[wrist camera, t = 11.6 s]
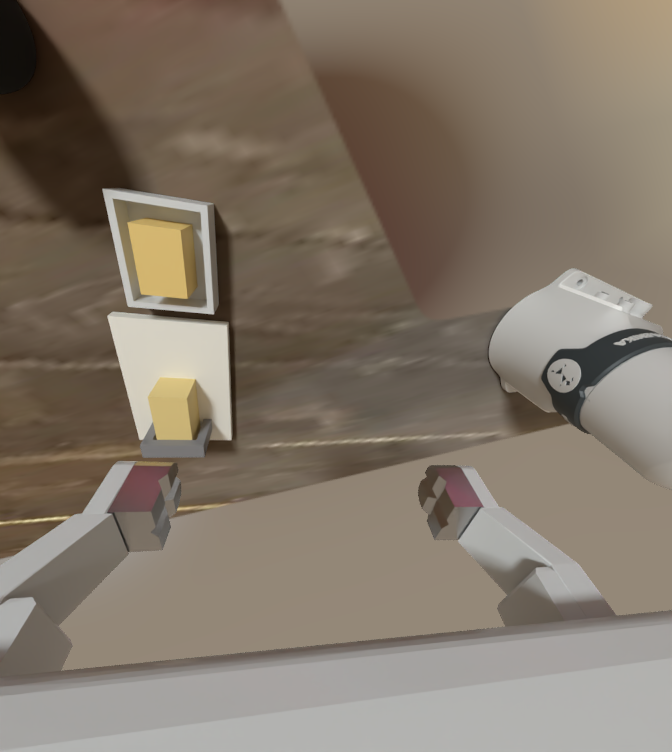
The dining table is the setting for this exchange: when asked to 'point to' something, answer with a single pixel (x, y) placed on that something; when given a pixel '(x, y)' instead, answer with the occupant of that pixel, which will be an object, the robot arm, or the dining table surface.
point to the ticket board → (175, 360)
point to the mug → (15, 48)
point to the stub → (164, 257)
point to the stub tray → (148, 205)
